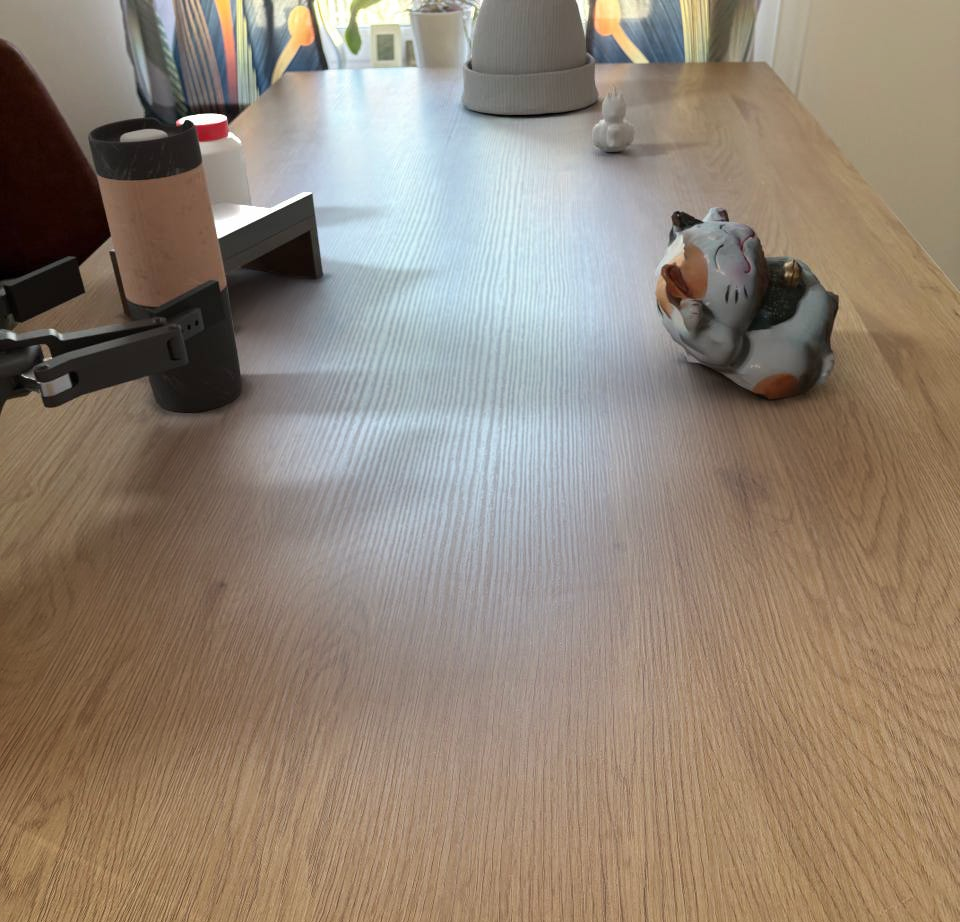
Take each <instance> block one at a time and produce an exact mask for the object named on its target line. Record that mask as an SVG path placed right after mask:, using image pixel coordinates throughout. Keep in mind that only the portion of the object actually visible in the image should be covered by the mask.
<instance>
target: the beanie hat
mask: <svg viewBox="0 0 960 922" xmlns="http://www.w3.org/2000/svg"><path fill="white" fill-rule="evenodd" d="M471 43H472V45H471V57H469V58H468V59H466V61H465V62H464V63H463V65H462V77H463V80H462V81H463V88H462V94H461V96H460V97H461V103H462V105H463V107H465V108H466V109H468V110H471V111H474V112H477V113H482V114H483V113H484V114H492V115H505V116H513V115H516V116H526V115H527V116H529V115H542V114H556V113H557V114H558V113H565V112H571V111H577V110H580V109H584V108H587V107H589V106H592V105H593V104H595V103H596V101H598V97H599V91H598V88H597V85H596V59H595V57H594V56H593V55H592V54H590V53H589V52H587V40H586V35H585V29H584V25H583V21H582V17H581V13H580V8H579V5H578V2H577V0H482V2H481V5H480V7H479V10H478V14H477V17H476V20H475V25H474V31H473V35H472V42H471Z"/></svg>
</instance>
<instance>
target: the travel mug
mask: <svg viewBox="0 0 960 922" xmlns="http://www.w3.org/2000/svg"><path fill="white" fill-rule="evenodd" d="M87 138H88V144H89V148H90V149H89V150H90V153H91V156H92V161H93V166H94V170H95V173H96V178H97V183H98V186H99V191H100V195H101V198H102V203H103V208H104V211H105V216H106V220H107V223H108V228H109V232H110V233H109V234H110V237H111V239H112V240H111V241H112V245H113V249H114V250H115V254H116V258H117V262H118V267H119V271H120V275H121V279H122V283H123V288H124V292H125V296H126V300H127V303H128V307H129V310H130V314H131V315H130V317H131V322H132V321H138V320H144V319H149V314H148V312H149V311H151V310H153V309H155V308H157V307H159V306H160V305H162V304H164V303H166V302H168V301H170V300H172V299H174V298H176V297H178V296H180V295H182V294H184V293H185V292H187V291H189V290H191V289H193V288H195V287H197V286H199V285H201V284H203V283H205V282H207V281H209V280H215V281H219V287H220V292H221V297H222V302H223V307H224V313H225V319H223V320H221V321H220V322H218V323H216V324H214V325H213V326H211V327H209V328H207V329H206V330H204V331H202V332H200V333H199V334H197V335H195V336H193V337H191V338H190V339H188V340H186V341H184V344H185V349H186V353H187V358H188V363H187V364H186V365H183V366H180V367H177V368H173V369H170V370H166V371H163V372H160V373H156V374H153V375H149V376H147V377H148V381H149V384H150V388H151V391H152V394H153V397H154V401H155V403H156V404H157V405H158V406H159V407H161V408H163V409H165V410H168V411H172V412H179V413H197V412H204V411H208V410H213V409H216V408H219V407H222V406H225V405H226V404H229V403H231V402H232V401H233V400H235V399H237V398H238V397H239V396H240V394H241V393H242V390H243V381H242V373H241V366H240V358H239V353H238V346H237V340H236V334H235V328H234V327H235V326H234V320H233V314H232V309H231V302H230V295H229V289H228V288H229V287H228V284H227V278H226V275H225V272H224V267H223V261H222V256H221V251H220V246H219V241H218V236H217V231H216V226H215V221H214V216H213V211H212V206H211V201H210V196H209V191H208V186H207V181H206V175H205V170H204V165H203V160H202V155H201V150H200V145H199V140H198V135H197V130H196V126H195V124H194V123H193V122H192V121H190V120H187V119H186V120H184V122H183V124H182V125H179V126H177V125H169V124H165V123H163V122H162V121H161V120H159V119H158V118H156V117H136V118H130V119H124V120H118V121H113V122H109V123H106V124H102V125H100V126H98V127H95V128H94V129H92V130H90V132H89V133H88V135H87Z"/></svg>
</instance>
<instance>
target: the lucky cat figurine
mask: <svg viewBox="0 0 960 922" xmlns="http://www.w3.org/2000/svg"><path fill="white" fill-rule="evenodd" d="M670 218H671V221H672V224H671V229H670V231H669V234H668V238H669V240H668V243H667V247H666V250H665V253H664V256H663V257H662V258H661V260H660V262H659V264H658V266H657V268H656V269H655V272H654V273H653V277H654V281H655V291H654V294H655V297H656V299H655V300H656V305H655V307H656V311H657V312H656V313H657V314H658V317H659V320H660V323H661V324H662V326H663V327H664V328H665V330H666V331H667V332H668V334H669V336H670V337H671V339H672V340H673V342H675V343H676V344H678V345H679V346H680V347H682V355H683V357H684V358H685V360H687V362H689V363H694V364H695V363H696V364H701V365H703V366H705V367H708V368H710V369H711V370H714V371H716V372H718V373H719V374H722V375H723V376H725V377H727V378H728V379H729V380H731V381H732V382H734V383H735V384H737V385H738V386H740V387H741V388H743V389H745V390H747V391H750V392H752V393H754V394H755V395H756V396H759V397H762V398H763V399H767V400H770V401H771V400H775V399H784V398H788V397H794V396H795V397H796V396H800V395H803V394H806V393H807V392H809V391H810V390H811V389H813V388H814V387H822V386H823V385H824V384H825V383H826V381H828V380H829V379H830V376H831V373H832V371H833V369H834V367H835V363H836V360H835V359H836V356H835V352H834V350H833V349H832V347H831V346H832V345H831V337H832V334H833V333H832V332H833V331H834V324H835V322H836V317H837V314H838V311H839V309H840V306H839V304H840V297H839V295H838V294H835V293H834V292H833V291H829V290H826V288H825V287H824V286H823V285H822V284H821V281H820V280H819V278H818V277H817V276H816V275H815V273H814V272H813V271H812V269H811V268H810V267H809V266H808V265H807V264H806V263H805V262H803V261H802V260H800V259H798V258H795V257H791V256H765V251H764V250H763V245H762V241H761V239H760V238H759V236H758V233H757V231H756V230H755V229H754V228H753V227H751V226H749V225H747V224H745V223H741V222H737V221H730V219H729V214H728V211H727V209H725V208H724V207H722V206H714V207H711V208H710V209H709V210H708V212H707V214H706V216H704V217H703V219H702V220H701V219H698V218H695V216H693V215H692V214H691V215H690V214H689V213H687V212H685V211H680V210H676V211H673V213H672V215H671V217H670Z"/></svg>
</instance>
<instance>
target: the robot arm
mask: <svg viewBox="0 0 960 922" xmlns="http://www.w3.org/2000/svg"><path fill="white" fill-rule="evenodd" d="M84 285H85V284H84V282H83V278H82V275H81V271H80V267H79V263H78V259H77V257H76V256H66V257H63V258H62V259H59V260H56V261H55V262H52V263H49V264H48V265H45V266H43V267H41V268H39V269H36V270H34V271H31V272H30V273H27V274H25V275H23V276H20V277H18V278H15V279H12V280H11V281H9V282H7V283H3V285H2V286H3V287H2V288H0V416H1V414H2V411H3V408H4V406H5V404H6V402H7V401H8V400H13V399H18V398H23V397H27V396H29V395H30V394H31V393H32V392H34V393H36V394H39V395H40V397H41V401H42V404H43V406H44V407H45V408H47V409H53V408H59V407H61V406H63V405H64V404H67V403H69V402H71V401H73V400H75V399H77V398H79V397H82V396H85V395H87V394H92V393H95V392H98V391H103V390H105V389H108V388H112V387H115V386H118V385H122V384H125V383H126V384H127V383H129V382H133V381H136V380H140V379H142V378H145V377H148V376H149V375H153V374H156V373H160V372H163V371H166V370H170V369H173V368H177V367H180V366H183V365H186V364H187V363H188V358H187V353H186V349H185V344H184V341H186V340H188V339H190V338H191V337H193V336H195V335H197V334H199V333H200V332H202V331H204V330H206V329H207V328H209V327H211V326H213V325H214V324H216V323H218V322H220V321H221V320H223V319H225V313H224V307H223V302H222V297H221V292H220V287H219V281H215V280H209V281H207V282H205V283H203V284H201V285H199V286H197V287H195V288H193V289H191V290H189V291H187V292H185V293H184V294H182V295H180V296H178V297H176V298H174V299H172V300H170V301H168V302H166V303H164V304H162V305H160V306H159V307H157V308H155V309H153V310H151V311H149V312H148V314H149V319H144V320H138V321H132V320H131V321H127V322H122V323H116V324H111V325H105V326H99V327H93V328H87V329H81V330H75V331H71V332H65V333H59V332H58V331H57V330H55V329H54V328H44V329H43V328H42V329H37V330H32V331H25V332H19V333H17V332H14V331H12V330H9V329H8V328H9V325H10V321H11V320H10V317H9V316H10V315H11V316H12V318H13V321H14V322H15V323H20V324H22V323H24V322H27V321H29V320H31V319H33V318H35V317H38V316H40V315H42V314H44V313H46V312H48V311H50V310H52V309H54V308H56V307H59V306H61V305H63V304H65V303H67V302H69V301H71V300H73V299H75V298H77V297H80V296H81V295H83V294H86V289H85V286H84ZM42 345H45V346H47V347H48V350H49V353H50V356H47V357H45V354H44V351H43V349H42Z"/></svg>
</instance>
